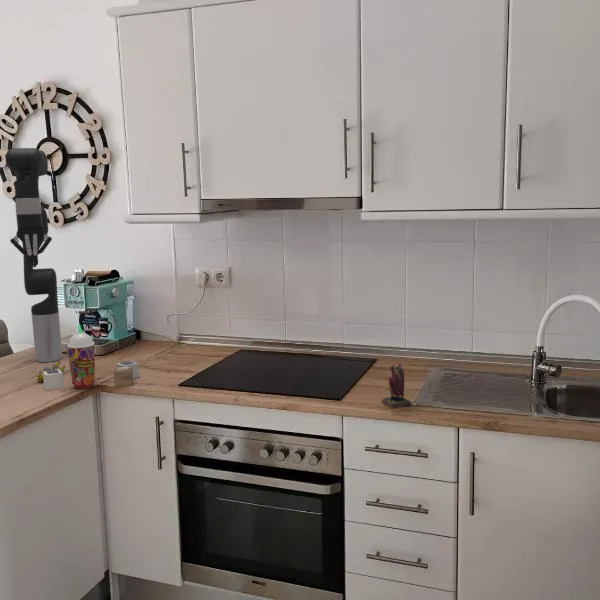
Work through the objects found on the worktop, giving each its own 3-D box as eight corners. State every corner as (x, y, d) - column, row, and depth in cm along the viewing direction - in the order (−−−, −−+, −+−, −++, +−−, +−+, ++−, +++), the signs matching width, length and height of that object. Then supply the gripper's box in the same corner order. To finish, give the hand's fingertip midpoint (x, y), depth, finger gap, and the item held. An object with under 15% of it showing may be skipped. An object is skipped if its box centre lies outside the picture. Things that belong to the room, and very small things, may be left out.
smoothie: (79, 391, 214) (74, 328, 211) (65, 386, 220) (60, 324, 217) (103, 385, 221) (98, 323, 217) (88, 380, 226) (84, 320, 223)
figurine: (412, 406, 195) (412, 364, 192) (391, 409, 192) (391, 367, 190) (401, 399, 201) (401, 358, 198) (380, 402, 198) (380, 361, 196)
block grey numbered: (117, 378, 229) (116, 362, 228) (130, 375, 232) (129, 359, 231) (125, 381, 225) (124, 365, 224) (138, 377, 229) (137, 362, 228)
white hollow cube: (44, 386, 221) (42, 370, 220) (60, 384, 223) (58, 368, 223) (47, 390, 217) (45, 374, 216) (63, 388, 219) (62, 371, 218)
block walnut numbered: (117, 382, 224) (116, 366, 223) (133, 381, 224) (132, 365, 223) (114, 387, 219) (113, 370, 218) (131, 386, 219) (129, 370, 218)
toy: (71, 365, 239) (52, 375, 224) (62, 377, 239) (43, 387, 225) (59, 356, 239) (39, 365, 224) (50, 368, 239) (30, 377, 224)
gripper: (50, 211, 226) (55, 264, 229) (6, 212, 222) (11, 267, 225) (51, 212, 219) (55, 267, 223) (5, 213, 215) (11, 269, 218)
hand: (33, 267), depth 224 cm, fingers closed
